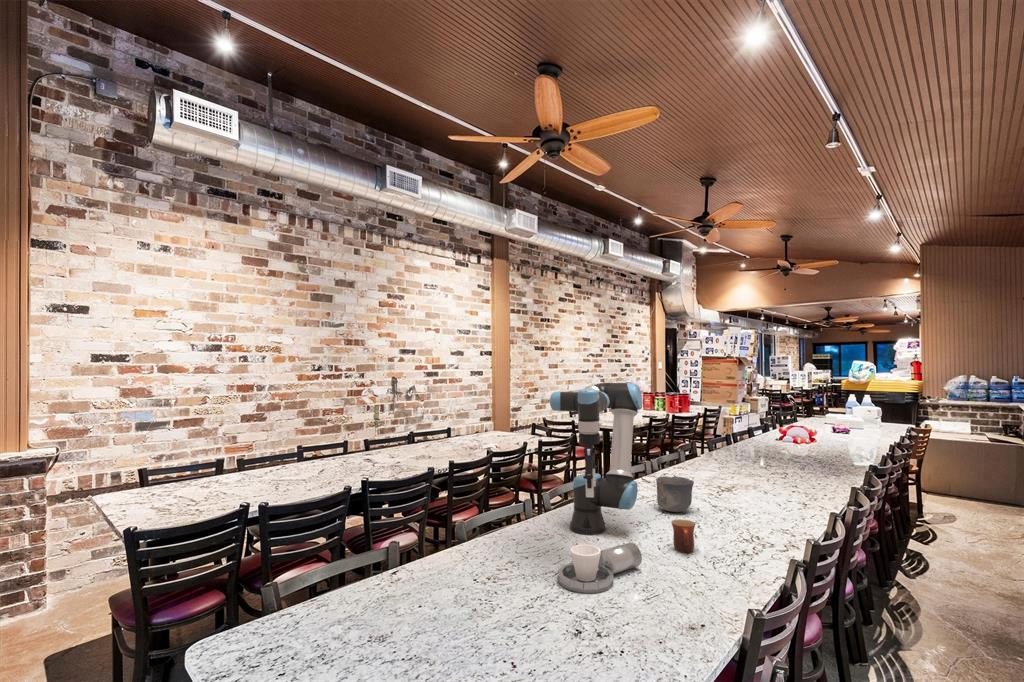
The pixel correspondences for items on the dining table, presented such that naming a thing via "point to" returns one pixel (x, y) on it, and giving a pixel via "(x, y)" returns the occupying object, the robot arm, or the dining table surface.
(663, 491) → the bowl
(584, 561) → the cup
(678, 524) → the mug
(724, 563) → the dining table surface
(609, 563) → the grey saucepan
